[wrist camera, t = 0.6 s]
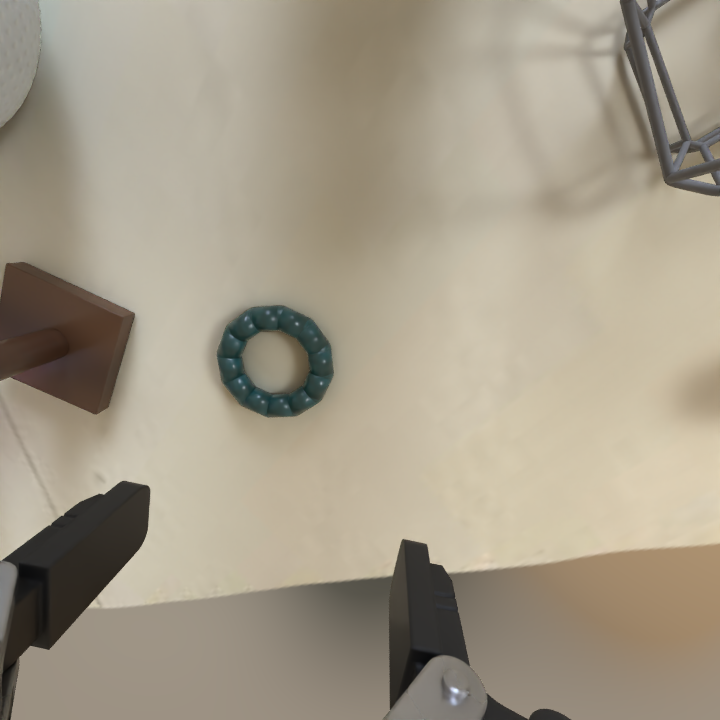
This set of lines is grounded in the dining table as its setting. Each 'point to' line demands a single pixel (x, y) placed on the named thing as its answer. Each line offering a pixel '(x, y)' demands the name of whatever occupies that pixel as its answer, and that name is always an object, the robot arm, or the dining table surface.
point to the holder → (60, 337)
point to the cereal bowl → (17, 53)
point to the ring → (293, 326)
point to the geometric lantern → (638, 58)
